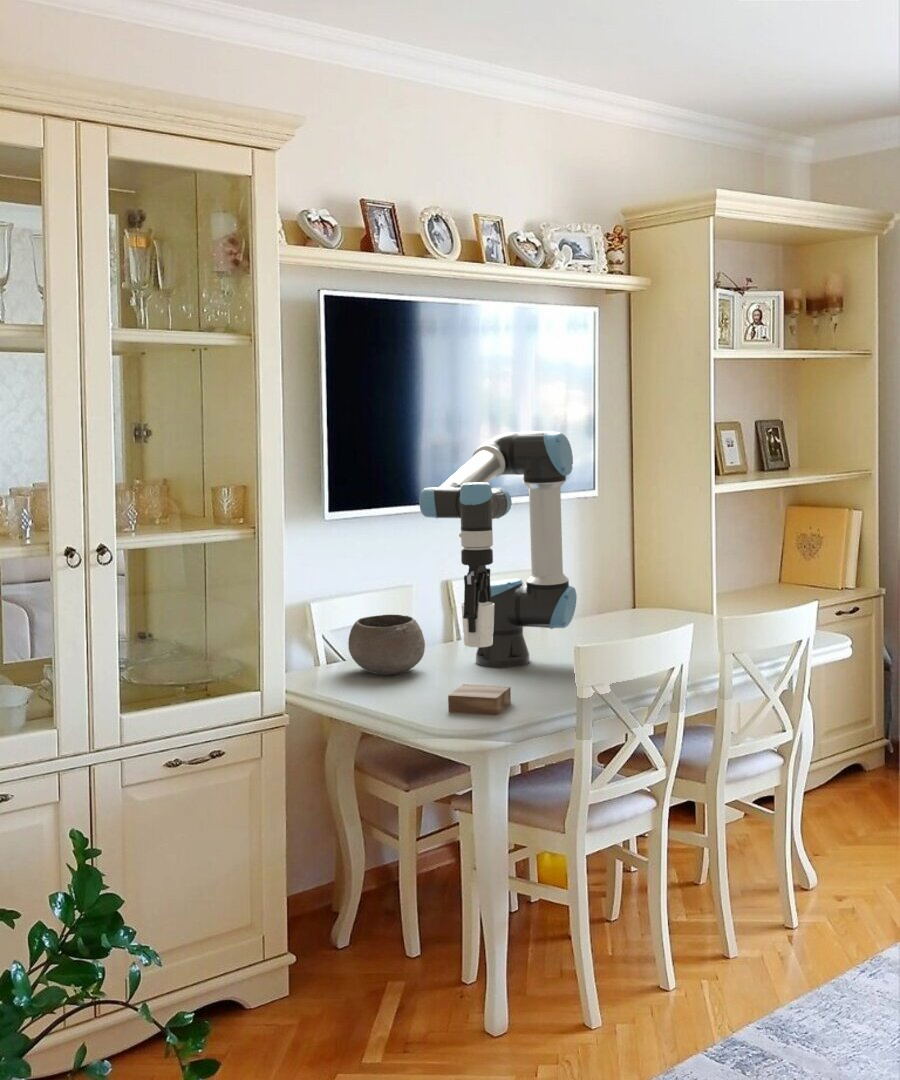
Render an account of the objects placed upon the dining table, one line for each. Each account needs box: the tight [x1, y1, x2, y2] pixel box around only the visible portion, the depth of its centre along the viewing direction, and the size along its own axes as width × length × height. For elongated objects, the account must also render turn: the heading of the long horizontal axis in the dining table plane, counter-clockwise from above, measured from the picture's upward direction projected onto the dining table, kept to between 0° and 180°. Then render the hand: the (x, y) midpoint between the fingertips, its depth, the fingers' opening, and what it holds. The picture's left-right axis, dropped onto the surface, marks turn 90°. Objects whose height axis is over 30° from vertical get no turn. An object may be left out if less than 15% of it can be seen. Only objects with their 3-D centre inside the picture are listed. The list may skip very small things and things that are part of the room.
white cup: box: [461, 602, 495, 648], centre depth 300 cm, size 8×8×10 cm
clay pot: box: [347, 614, 426, 676], centre depth 342 cm, size 21×21×15 cm
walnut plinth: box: [447, 684, 512, 716], centre depth 302 cm, size 12×12×4 cm
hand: (478, 642), depth 301 cm, fingers closed on white cup, 8 cm apart
